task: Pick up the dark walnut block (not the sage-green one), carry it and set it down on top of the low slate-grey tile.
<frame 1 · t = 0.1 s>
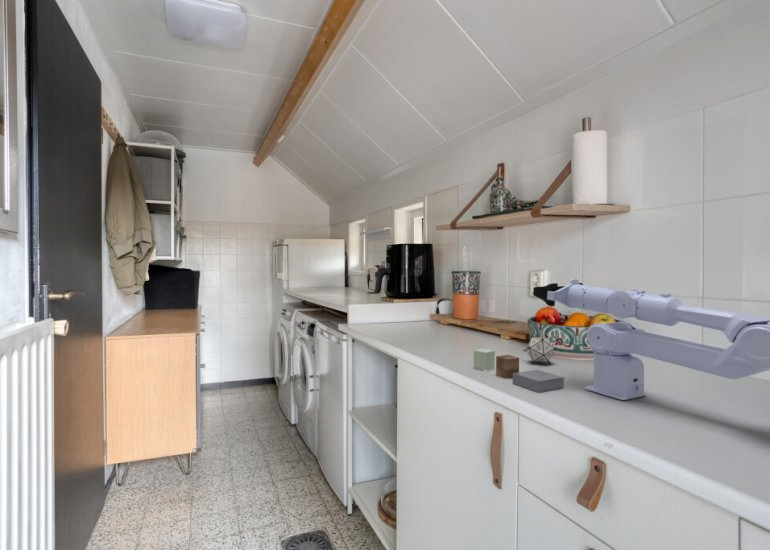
hand: (544, 290, 112), 22 cm above the worktop, tool horizontal, fingers open, 7 cm apart
sage block: (484, 368, 117), on the worktop
slate tile: (537, 385, 100), on the worktop
walnut block: (507, 376, 109), on the worktop
game die: (539, 363, 124), on the worktop
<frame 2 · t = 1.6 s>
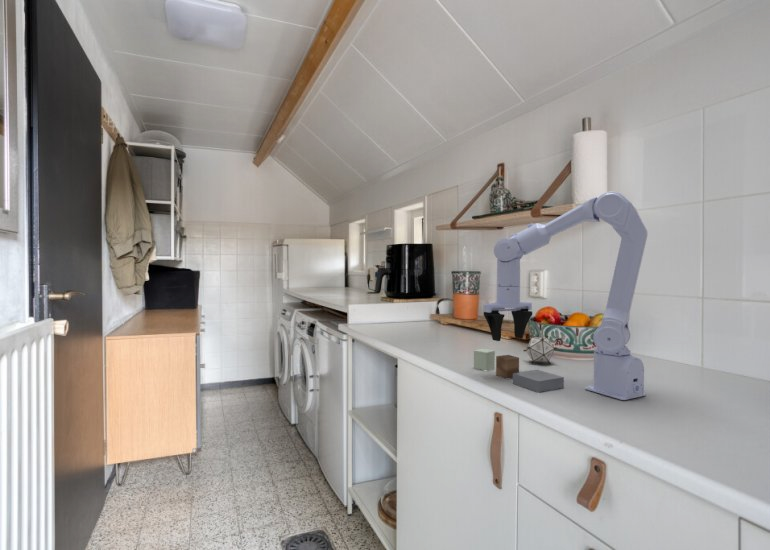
hand: (507, 339, 109), 9 cm above the worktop, tool pointing down, fingers open, 7 cm apart
nothing on the worktop moved.
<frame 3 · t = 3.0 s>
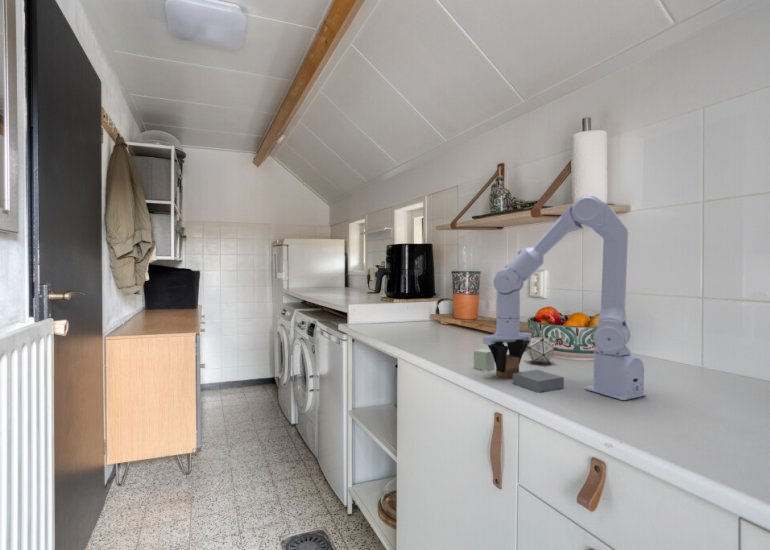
hand: (507, 370, 109), 1 cm above the worktop, tool pointing down, fingers closed on walnut block, 4 cm apart
walnut block: (507, 376, 109), on the worktop, touching gripper
everything else where it was.
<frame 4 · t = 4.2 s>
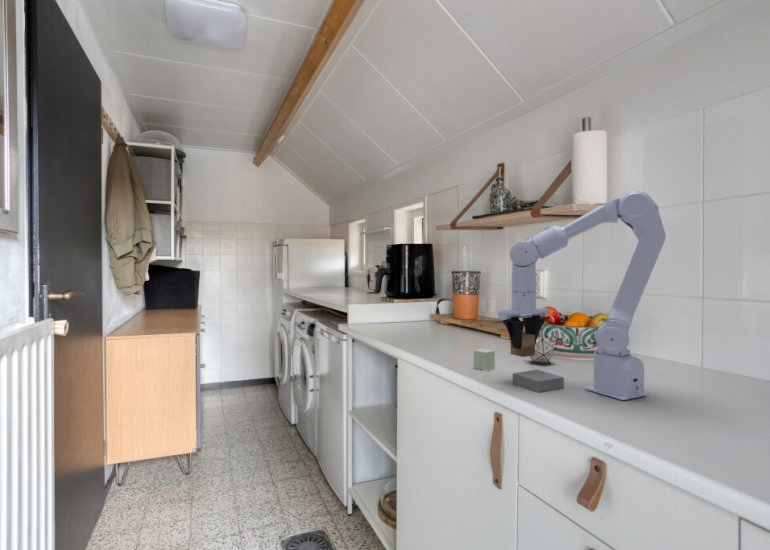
hand: (523, 347, 104), 8 cm above the worktop, tool pointing down, fingers closed on walnut block, 4 cm apart
walnut block: (522, 354, 105), point 6 cm above the worktop, touching gripper
everything else where it was.
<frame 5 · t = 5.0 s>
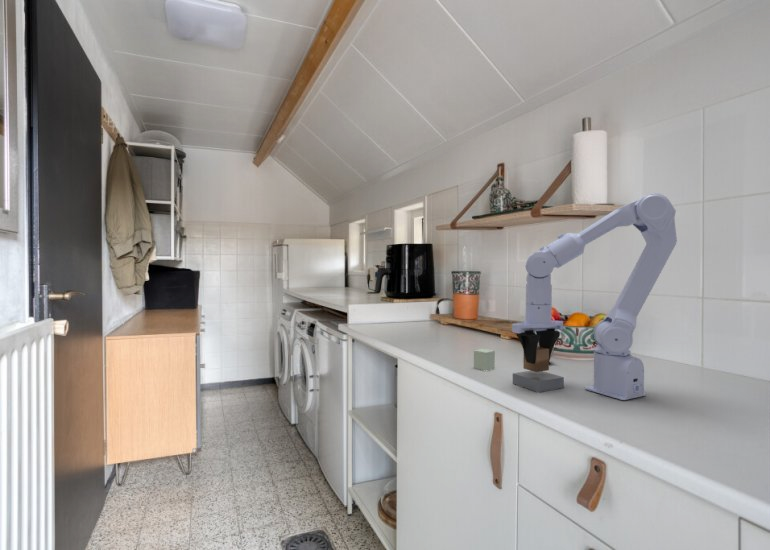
hand: (537, 361, 100), 6 cm above the worktop, tool pointing down, fingers closed on walnut block, 4 cm apart
walnut block: (536, 369, 101), point 4 cm above the worktop, touching gripper
everything else where it was.
when the fingers open (5 cm above the worktop, at t = 5.5 s): walnut block stays where it is, resting on slate tile.
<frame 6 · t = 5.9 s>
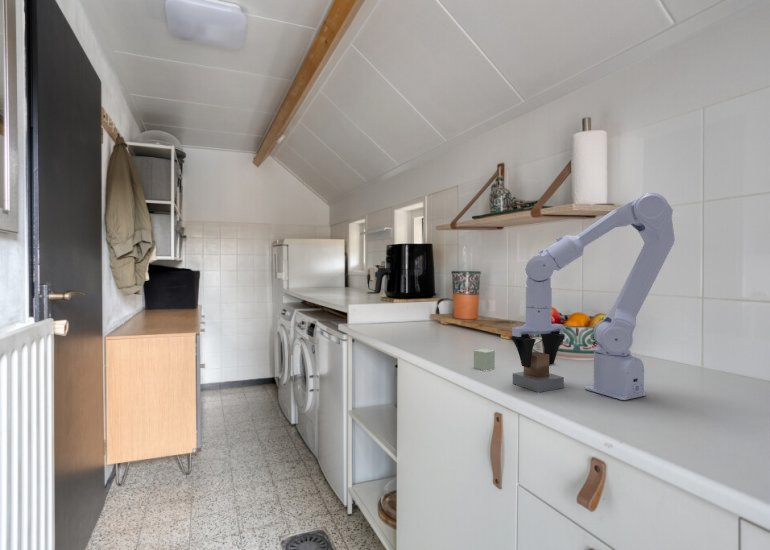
hand: (537, 365, 100), 5 cm above the worktop, tool pointing down, fingers open, 7 cm apart
walnut block: (536, 374, 101), point 2 cm above the worktop, touching slate tile
everything else where it was.
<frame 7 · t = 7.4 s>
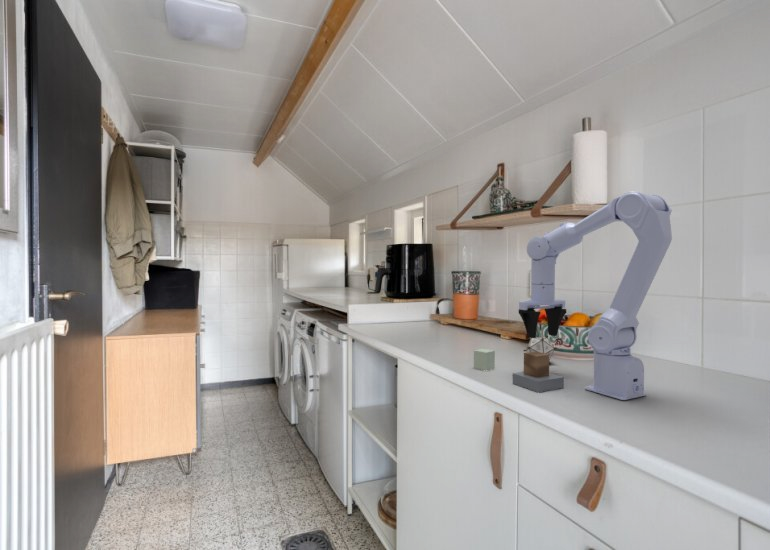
hand: (542, 336, 110), 10 cm above the worktop, tool pointing down, fingers open, 7 cm apart
nothing on the worktop moved.
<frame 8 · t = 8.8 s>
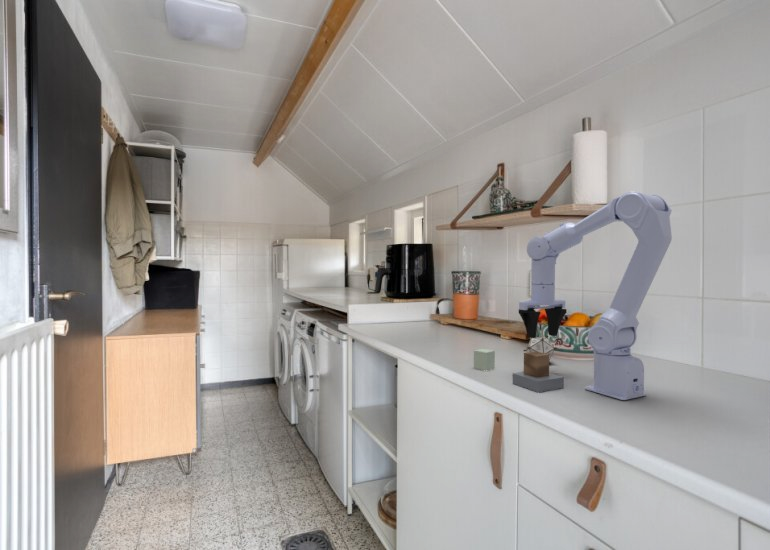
hand: (542, 336, 110), 10 cm above the worktop, tool pointing down, fingers open, 7 cm apart
nothing on the worktop moved.
at the end: walnut block 0.5 cm off-centre on the slate tile, point 2.5 cm above the slate tile's base; walnut block tilted 0°; sage block moved 0.1 cm from its start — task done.
